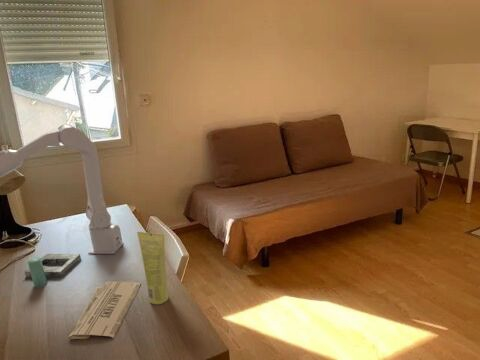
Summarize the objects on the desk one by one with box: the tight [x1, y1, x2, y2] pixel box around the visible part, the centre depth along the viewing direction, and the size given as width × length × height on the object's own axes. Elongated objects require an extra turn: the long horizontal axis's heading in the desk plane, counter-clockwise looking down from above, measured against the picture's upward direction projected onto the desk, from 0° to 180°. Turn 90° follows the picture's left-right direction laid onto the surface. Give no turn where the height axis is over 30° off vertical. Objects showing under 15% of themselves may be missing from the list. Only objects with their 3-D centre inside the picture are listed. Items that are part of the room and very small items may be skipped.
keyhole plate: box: [24, 253, 82, 279], centre depth 115 cm, size 12×11×2 cm
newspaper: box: [68, 281, 141, 340], centre depth 93 cm, size 23×12×2 cm, turn 178°
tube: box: [137, 231, 169, 305], centre depth 93 cm, size 6×5×20 cm
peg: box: [27, 257, 48, 288], centre depth 105 cm, size 3×3×8 cm
